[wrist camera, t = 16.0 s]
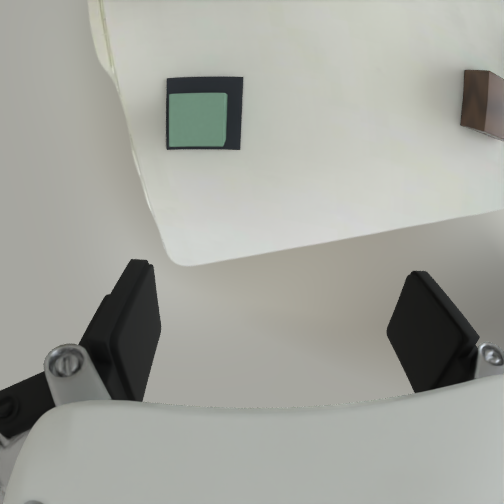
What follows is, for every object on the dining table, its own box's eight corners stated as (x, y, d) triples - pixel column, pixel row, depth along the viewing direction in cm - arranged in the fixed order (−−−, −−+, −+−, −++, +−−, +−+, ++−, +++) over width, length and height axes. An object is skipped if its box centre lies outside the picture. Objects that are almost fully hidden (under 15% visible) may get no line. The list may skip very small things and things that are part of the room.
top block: (180, 94, 28) (169, 94, 23) (227, 94, 28) (225, 92, 24) (179, 139, 30) (168, 146, 26) (226, 139, 30) (223, 146, 26)
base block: (464, 69, 26) (488, 70, 21) (500, 88, 26) (524, 91, 22) (460, 125, 29) (484, 131, 25) (495, 138, 30) (518, 146, 25)
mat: (167, 78, 27) (166, 78, 27) (243, 77, 28) (243, 77, 27) (167, 149, 31) (166, 149, 31) (240, 149, 31) (240, 149, 31)
